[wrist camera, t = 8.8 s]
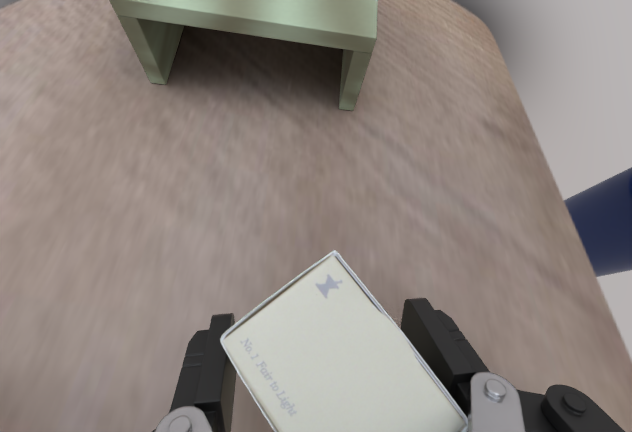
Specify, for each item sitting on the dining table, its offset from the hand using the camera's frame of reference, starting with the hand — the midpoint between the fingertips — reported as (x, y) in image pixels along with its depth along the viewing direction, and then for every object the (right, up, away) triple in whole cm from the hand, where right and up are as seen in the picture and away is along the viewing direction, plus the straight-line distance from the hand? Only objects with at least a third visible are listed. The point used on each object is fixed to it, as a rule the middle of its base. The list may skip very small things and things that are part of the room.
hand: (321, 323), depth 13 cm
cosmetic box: (-1, -4, +7) cm, 9 cm away
